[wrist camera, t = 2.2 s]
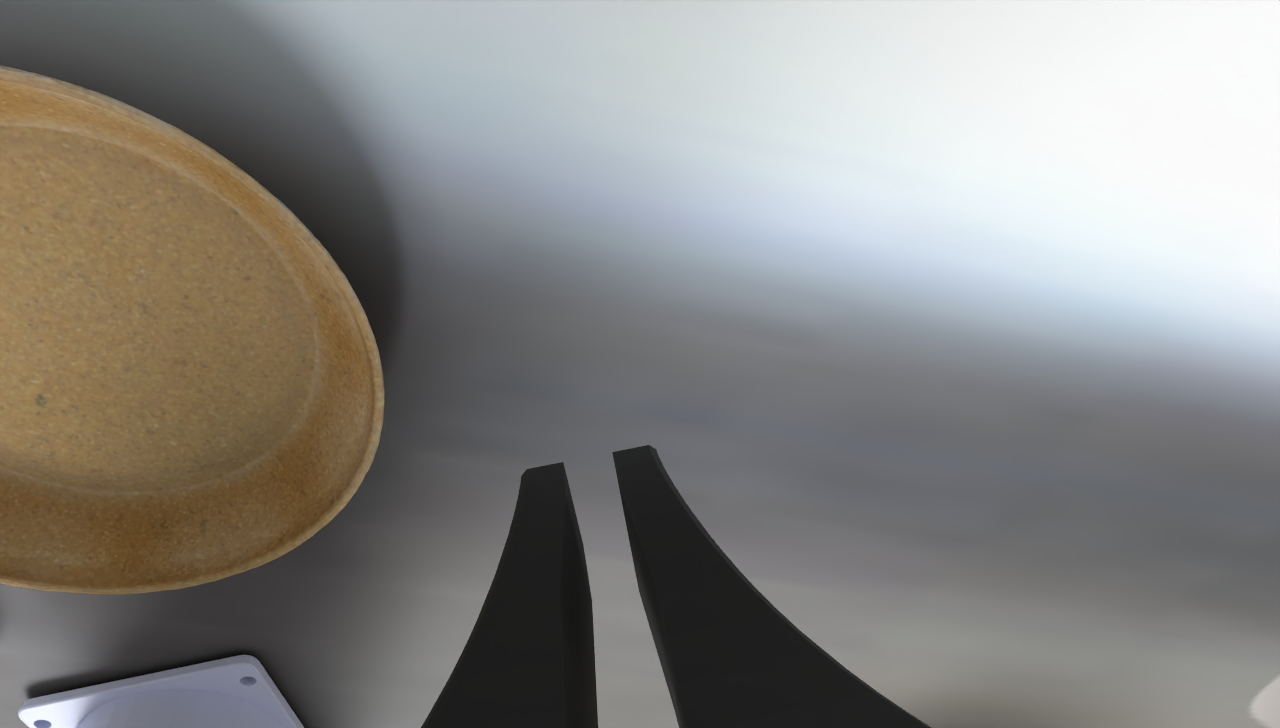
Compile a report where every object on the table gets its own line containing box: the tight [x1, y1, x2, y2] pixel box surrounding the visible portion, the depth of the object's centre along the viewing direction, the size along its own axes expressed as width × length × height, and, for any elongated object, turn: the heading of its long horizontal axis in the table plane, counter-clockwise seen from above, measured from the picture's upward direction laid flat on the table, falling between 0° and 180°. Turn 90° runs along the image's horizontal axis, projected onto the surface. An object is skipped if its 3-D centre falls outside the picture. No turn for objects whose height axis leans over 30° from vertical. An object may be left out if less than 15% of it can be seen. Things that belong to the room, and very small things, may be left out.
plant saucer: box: [0, 65, 385, 595], centre depth 20 cm, size 15×15×3 cm
